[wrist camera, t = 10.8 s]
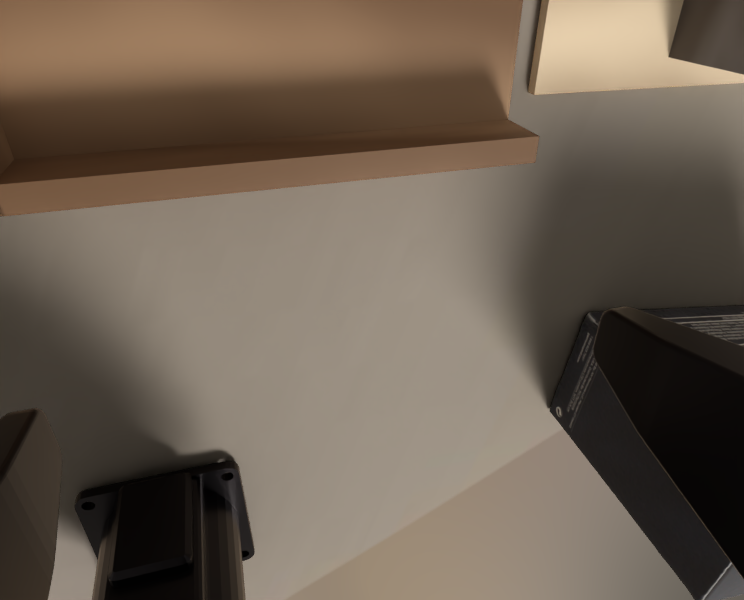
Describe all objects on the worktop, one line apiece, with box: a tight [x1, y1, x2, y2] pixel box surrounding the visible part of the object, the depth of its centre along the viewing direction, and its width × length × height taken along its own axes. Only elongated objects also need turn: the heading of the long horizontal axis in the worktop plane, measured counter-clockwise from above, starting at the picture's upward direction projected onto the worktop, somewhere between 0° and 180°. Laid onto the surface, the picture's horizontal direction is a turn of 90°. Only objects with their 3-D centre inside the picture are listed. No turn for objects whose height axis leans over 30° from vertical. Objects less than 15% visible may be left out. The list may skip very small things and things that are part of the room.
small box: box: [550, 306, 744, 600], centre depth 24 cm, size 11×6×10 cm, turn 82°
